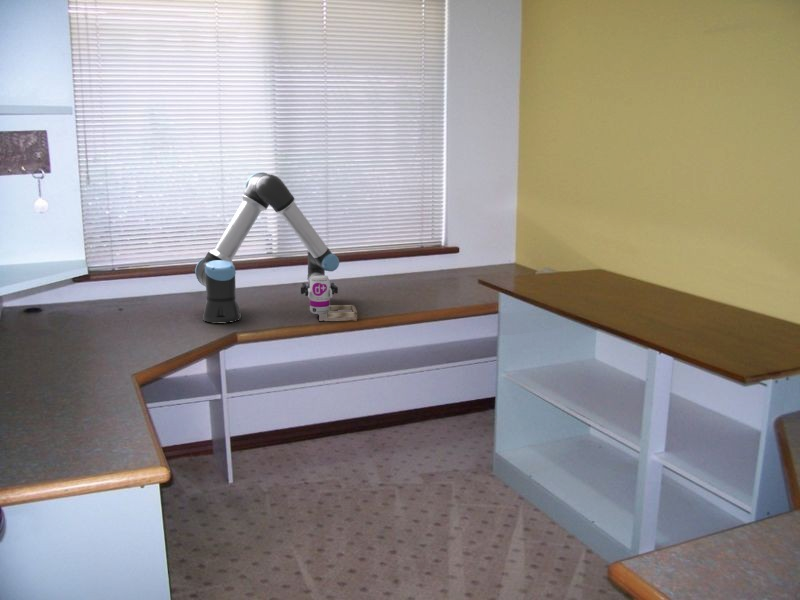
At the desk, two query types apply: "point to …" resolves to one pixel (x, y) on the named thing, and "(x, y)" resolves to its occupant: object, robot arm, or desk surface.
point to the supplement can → (319, 294)
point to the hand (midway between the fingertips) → (320, 294)
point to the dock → (342, 314)
